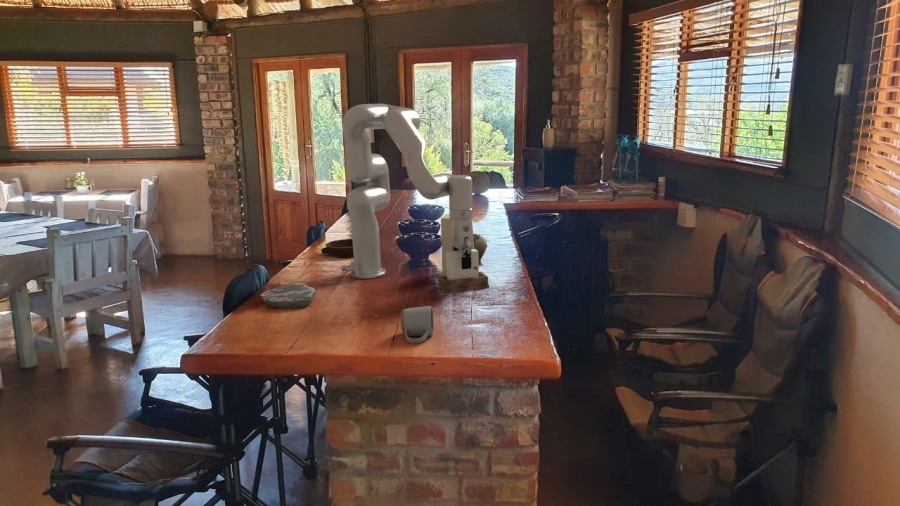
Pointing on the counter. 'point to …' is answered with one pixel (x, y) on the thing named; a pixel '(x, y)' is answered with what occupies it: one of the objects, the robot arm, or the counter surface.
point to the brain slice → (289, 296)
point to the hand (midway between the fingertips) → (461, 265)
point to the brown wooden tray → (463, 283)
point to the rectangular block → (456, 269)
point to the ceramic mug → (417, 323)
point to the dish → (339, 248)
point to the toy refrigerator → (445, 240)
